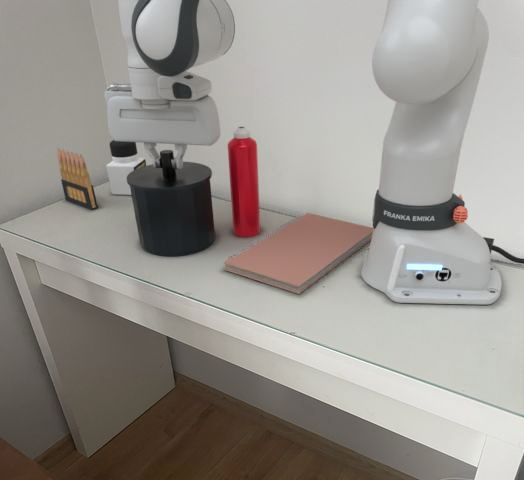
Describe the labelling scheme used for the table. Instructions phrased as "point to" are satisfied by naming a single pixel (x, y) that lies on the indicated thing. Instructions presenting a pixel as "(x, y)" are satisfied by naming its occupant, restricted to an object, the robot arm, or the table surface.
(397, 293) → the robot arm
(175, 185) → the bin lid
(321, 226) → the notebook
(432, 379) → the table surface
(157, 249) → the trash bin
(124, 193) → the medicine bottle
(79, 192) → the ammunition clip
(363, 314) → the table surface
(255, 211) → the bottle
